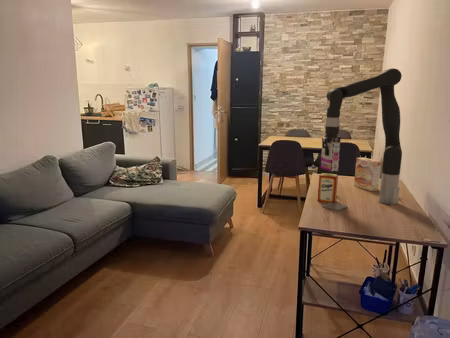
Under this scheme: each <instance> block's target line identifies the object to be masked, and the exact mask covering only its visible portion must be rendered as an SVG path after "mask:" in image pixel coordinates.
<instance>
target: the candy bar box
mask: <svg viewBox="0 0 450 338" xmlns="http://www.w3.org/2000/svg"><path fill="white" fill-rule="evenodd" d="M327 143H328V142H327ZM329 143H330V147H329V156H325V149H324V148H322V147H321V157H320V169H321V170H322V169H323V170H325V171H328V172H331V173H333V172H334V173H335V172H339V166H340V165H339V164H340V155H341V154H340V152H341V142H340V143H339V142H329ZM329 143H328V144H329ZM324 146H325V144H324ZM327 147H328V145H327Z"/></svg>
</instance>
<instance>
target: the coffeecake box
mask: <svg viewBox="0 0 450 338" xmlns="http://www.w3.org/2000/svg"><path fill="white" fill-rule="evenodd" d="M381 165H382V161H381V160H377V159H371V158H369V157H368V158H367V157H356V160H355V171H354V182H353V186H354V187H357V188H360V189H364V190H366V191H370V192H373V191H375V192H376V191H379V186H380V185H379V184H380V175H381V169H382V166H381Z"/></svg>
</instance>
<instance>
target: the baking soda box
mask: <svg viewBox="0 0 450 338" xmlns="http://www.w3.org/2000/svg"><path fill="white" fill-rule="evenodd" d="M326 173H327V172H326ZM326 173H323V172H321V173H320V174H319V176H318V177H319V178H318V189H317V193H318V194H317V202H319V201H320V202H321V203H326V202H327V203H330V202H333V203H336V201H337V193H338V182H339V181H338V180H339V174H336V173H330V174H326ZM320 202H319V203H320ZM327 203H326V204H327Z"/></svg>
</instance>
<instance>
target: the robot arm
mask: <svg viewBox="0 0 450 338" xmlns="http://www.w3.org/2000/svg"><path fill="white" fill-rule="evenodd" d="M402 76H403V75H402V72H401V71H400V70H399V69H398V68H389V69H388V68H387V69H385V70H383V71H381V72H380V74H378V75H375V76H373V77H370V78H369V77H368V78H366V79H362V80H358V81H355V82H352V83H347V84H345V85H343V86H340V87H335V88H332V89H330V90H328V92H327V93H326V100H327V101H329V105H328V107H327V109H326V118H325V128H324V130H325V131H324V134H325V135H326V136H325V137H321V138H322V139H321V149H322V148H324V149H325V156H329V147H330V143H329V142H339V143H340V144H341V140H342V139H341V138H342V136H339V134H340V126H341V125H340V124H341V119H340V118H341V117H340V116H341V108H342V104H343V99H345V98H347V99H348V98H353V97H355V96H358V95H362V94H365V93H367V92H369V91H371V90H375V89H380V90H379V92H380V97H381V103H380V105H381V121H382V123H381V124H382V128H383V132H384V133H383V134H384V138H385V139H384V140H385V142H384V152H383V158H382V166H381V178H380V185H379V186H380V188H379V196H378V197H379V199H378V202H379V203H381V204H384V205H391V206H393V205H396V204H398V203H399V196H400V188H401V187H399V182H400V174H401V167H402V157H403V152H402V151H403V150H402V146H401V138H400V130H401V110H400V106H399V103H398V101H397V98H396V96H395V86H396V85H398V84H399V83H400V82H401V80H402ZM327 142H328V143H329V144H328V143H327ZM324 144H325V146H324ZM327 145H328V147H327Z"/></svg>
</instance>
